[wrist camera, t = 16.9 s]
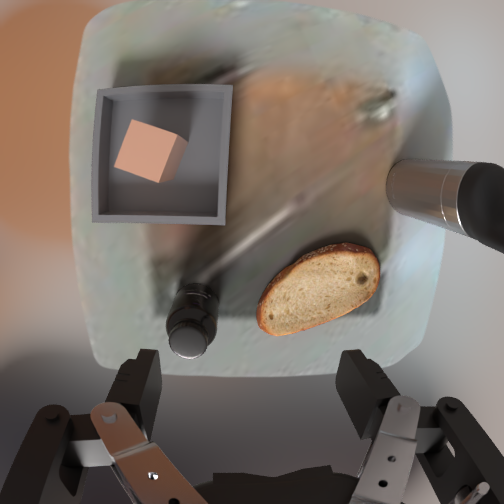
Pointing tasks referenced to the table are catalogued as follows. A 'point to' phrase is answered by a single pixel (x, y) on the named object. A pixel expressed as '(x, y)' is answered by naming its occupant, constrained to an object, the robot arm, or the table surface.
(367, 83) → the table surface
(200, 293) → the supplement bottle
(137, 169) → the salmon pink block
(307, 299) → the slice of bread
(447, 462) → the robot arm
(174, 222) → the charcoal bin
